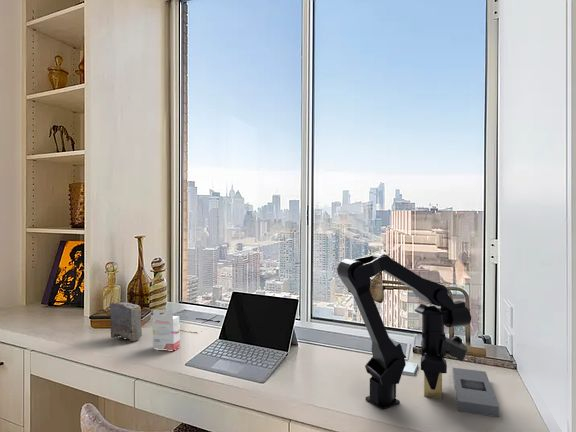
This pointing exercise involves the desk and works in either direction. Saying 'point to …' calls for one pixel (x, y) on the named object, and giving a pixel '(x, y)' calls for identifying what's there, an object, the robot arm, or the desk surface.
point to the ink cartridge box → (166, 330)
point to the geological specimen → (125, 320)
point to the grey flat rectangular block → (474, 392)
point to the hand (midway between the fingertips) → (432, 385)
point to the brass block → (430, 392)
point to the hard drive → (410, 369)
